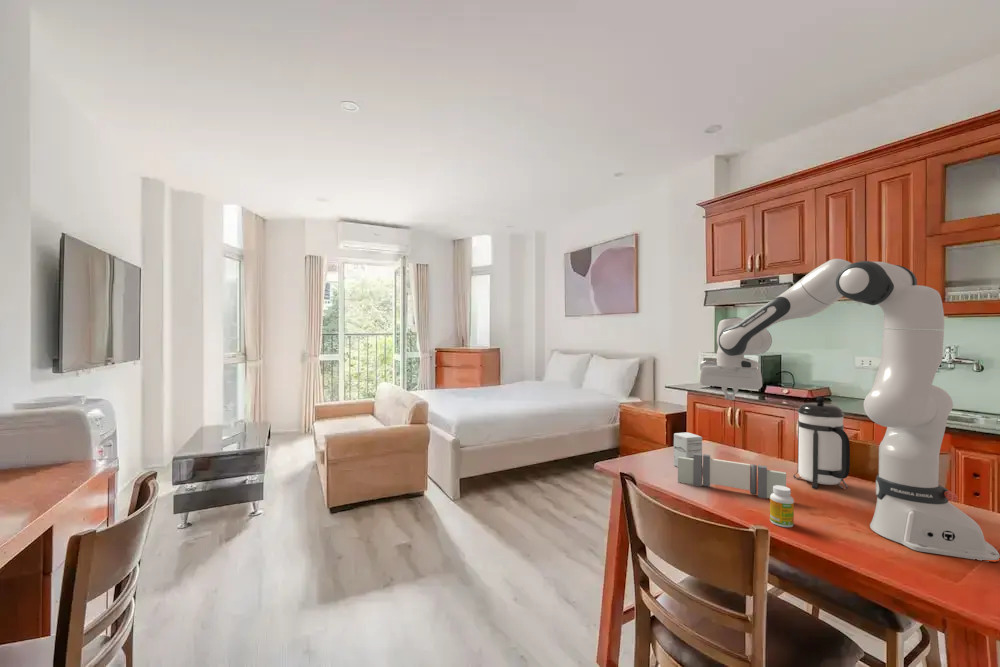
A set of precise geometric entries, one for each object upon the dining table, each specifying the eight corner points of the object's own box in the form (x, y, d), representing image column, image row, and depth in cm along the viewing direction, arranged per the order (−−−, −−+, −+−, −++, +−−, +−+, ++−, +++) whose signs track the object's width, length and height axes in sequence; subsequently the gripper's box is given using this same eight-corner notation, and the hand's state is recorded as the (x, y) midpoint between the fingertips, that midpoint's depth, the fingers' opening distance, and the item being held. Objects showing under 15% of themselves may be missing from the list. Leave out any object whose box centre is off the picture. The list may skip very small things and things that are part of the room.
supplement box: (672, 465, 164) (672, 433, 164) (688, 463, 167) (688, 431, 167) (686, 471, 157) (686, 437, 157) (702, 469, 160) (702, 436, 159)
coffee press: (785, 482, 146) (786, 395, 146) (802, 473, 156) (802, 391, 155) (848, 498, 132) (849, 402, 132) (862, 487, 142) (863, 398, 142)
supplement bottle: (782, 529, 112) (783, 492, 112) (765, 520, 117) (765, 485, 117) (798, 526, 113) (798, 490, 113) (780, 518, 119) (780, 483, 118)
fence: (785, 499, 131) (785, 465, 131) (785, 502, 129) (786, 467, 129) (678, 480, 148) (678, 450, 148) (677, 482, 146) (677, 452, 146)
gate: (756, 492, 135) (756, 461, 135) (756, 495, 134) (756, 463, 134) (703, 483, 144) (703, 454, 143) (702, 485, 142) (703, 455, 142)
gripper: (697, 360, 161) (697, 397, 161) (759, 363, 147) (759, 403, 147) (702, 360, 165) (702, 395, 165) (763, 362, 152) (763, 401, 152)
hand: (729, 399), depth 156 cm, fingers closed
